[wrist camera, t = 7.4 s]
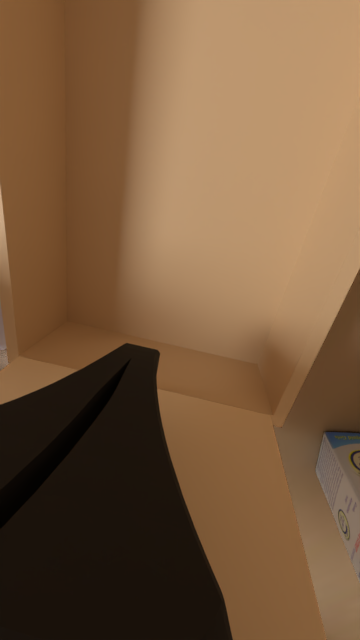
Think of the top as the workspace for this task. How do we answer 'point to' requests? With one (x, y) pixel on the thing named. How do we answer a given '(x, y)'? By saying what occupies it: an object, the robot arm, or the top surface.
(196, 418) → the flap
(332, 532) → the top surface
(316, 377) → the top surface
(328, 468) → the medicine box
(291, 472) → the top surface
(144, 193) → the carton
